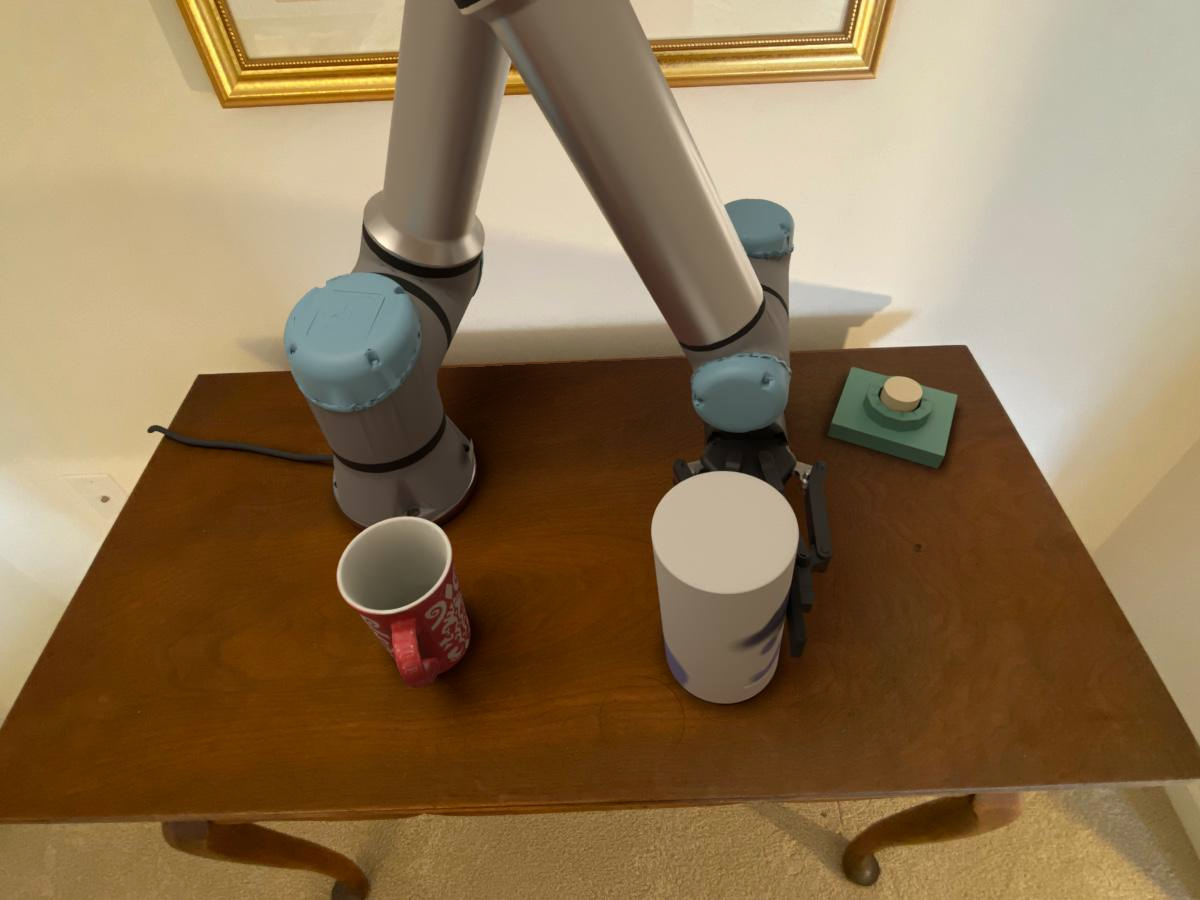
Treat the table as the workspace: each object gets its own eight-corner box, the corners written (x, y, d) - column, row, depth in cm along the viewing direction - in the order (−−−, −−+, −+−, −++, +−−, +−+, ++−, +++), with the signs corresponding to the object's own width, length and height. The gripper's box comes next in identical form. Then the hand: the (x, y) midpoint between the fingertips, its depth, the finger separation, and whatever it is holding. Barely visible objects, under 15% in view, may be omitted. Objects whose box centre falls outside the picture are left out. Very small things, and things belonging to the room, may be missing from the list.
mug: (381, 605, 68) (337, 526, 58) (475, 587, 69) (448, 506, 59) (382, 736, 60) (331, 671, 50) (488, 713, 61) (459, 645, 51)
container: (771, 715, 60) (791, 604, 45) (655, 690, 62) (636, 577, 47) (783, 609, 66) (805, 479, 50) (677, 590, 68) (667, 461, 53)
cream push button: (876, 406, 78) (880, 395, 77) (884, 383, 81) (888, 372, 79) (914, 417, 77) (919, 406, 76) (920, 393, 80) (925, 382, 78)
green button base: (827, 435, 81) (834, 411, 78) (847, 379, 86) (855, 354, 83) (937, 469, 77) (950, 445, 74) (951, 408, 83) (963, 383, 80)
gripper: (831, 444, 69) (873, 674, 54) (651, 442, 71) (644, 664, 56) (846, 389, 64) (898, 628, 49) (650, 388, 65) (642, 619, 50)
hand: (762, 647), depth 52 cm, fingers open, 4 cm apart
